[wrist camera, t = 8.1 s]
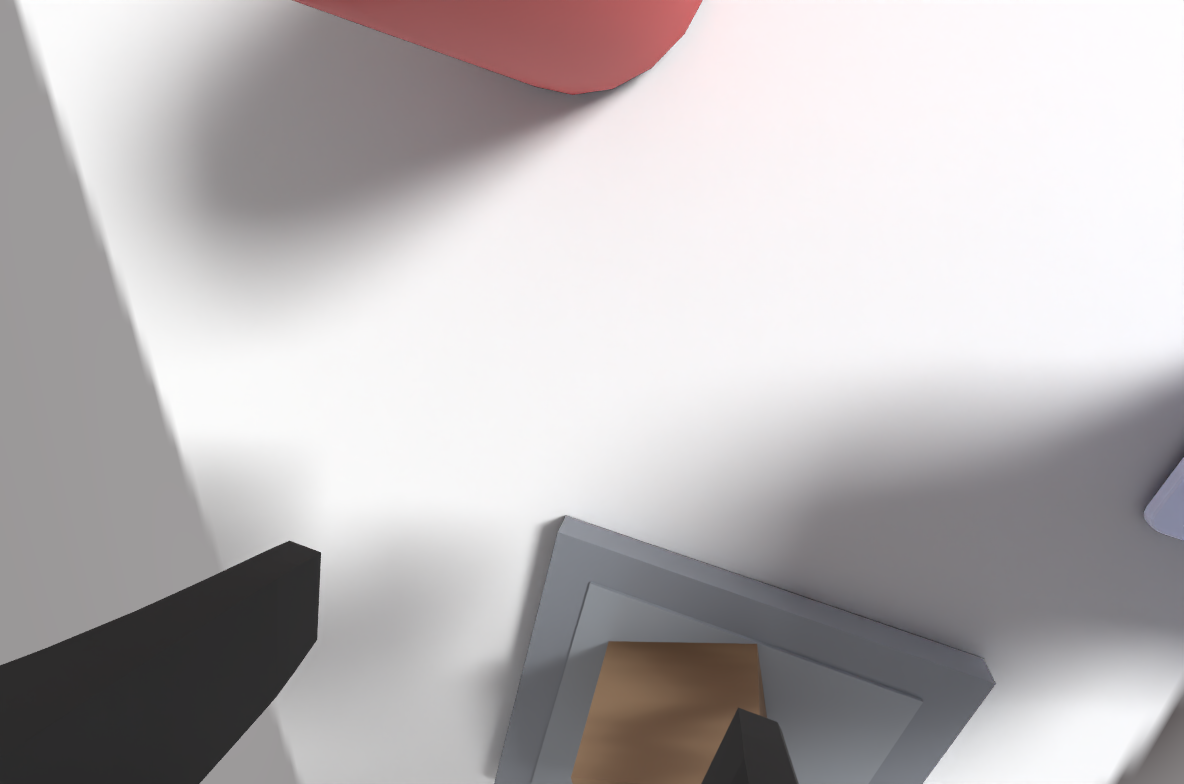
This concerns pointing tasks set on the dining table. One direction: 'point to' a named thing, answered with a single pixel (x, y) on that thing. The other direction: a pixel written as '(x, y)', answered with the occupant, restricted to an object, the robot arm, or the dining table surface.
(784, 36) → the dining table surface
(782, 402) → the dining table surface
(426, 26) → the beer can
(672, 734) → the walnut block
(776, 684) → the coaster
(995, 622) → the dining table surface
